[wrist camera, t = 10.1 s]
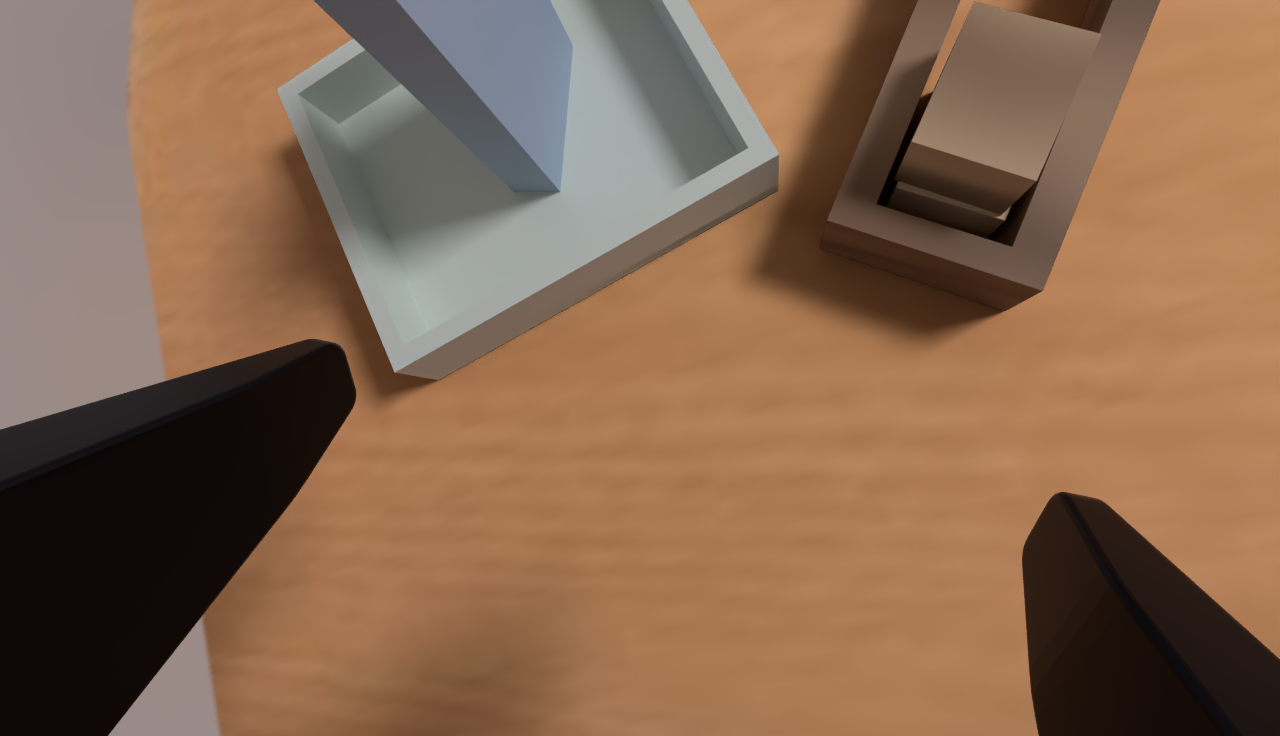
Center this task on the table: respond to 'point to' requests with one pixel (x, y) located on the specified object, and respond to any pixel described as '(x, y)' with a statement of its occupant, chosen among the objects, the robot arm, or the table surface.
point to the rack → (1033, 220)
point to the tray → (528, 221)
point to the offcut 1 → (997, 107)
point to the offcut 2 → (944, 210)
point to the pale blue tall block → (478, 74)
